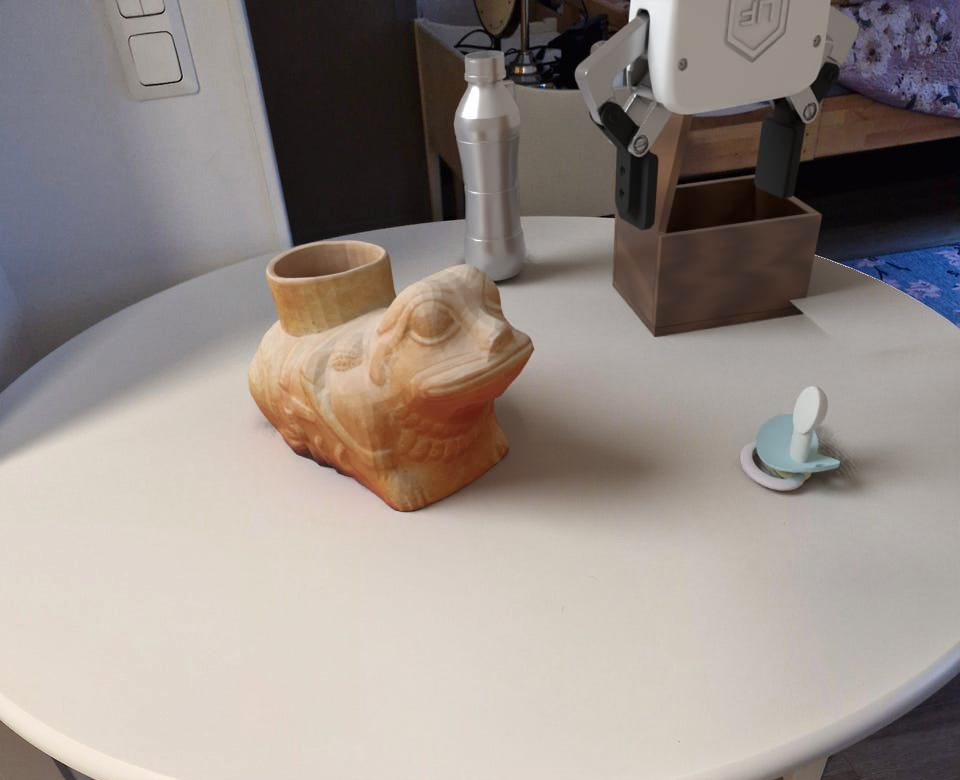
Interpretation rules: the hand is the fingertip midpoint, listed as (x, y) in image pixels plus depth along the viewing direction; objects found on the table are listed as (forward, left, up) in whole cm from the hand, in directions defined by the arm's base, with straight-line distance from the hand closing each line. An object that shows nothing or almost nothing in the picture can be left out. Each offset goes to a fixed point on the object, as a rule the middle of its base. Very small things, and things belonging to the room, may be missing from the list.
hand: (705, 207), depth 54 cm
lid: (-7, -27, -1) cm, 28 cm away
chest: (-13, -27, -18) cm, 35 cm away
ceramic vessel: (+20, -9, -18) cm, 29 cm away
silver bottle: (+5, -40, -18) cm, 44 cm away
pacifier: (-7, +3, -18) cm, 20 cm away
